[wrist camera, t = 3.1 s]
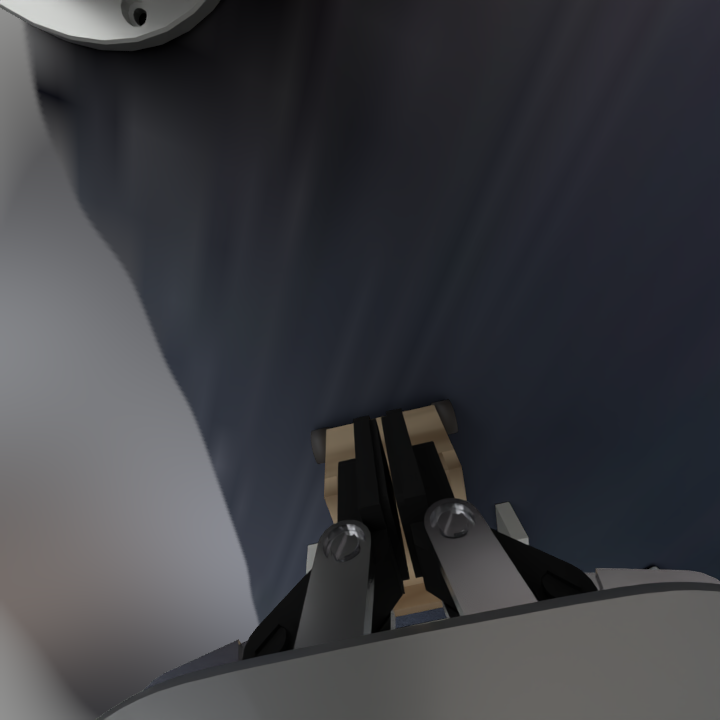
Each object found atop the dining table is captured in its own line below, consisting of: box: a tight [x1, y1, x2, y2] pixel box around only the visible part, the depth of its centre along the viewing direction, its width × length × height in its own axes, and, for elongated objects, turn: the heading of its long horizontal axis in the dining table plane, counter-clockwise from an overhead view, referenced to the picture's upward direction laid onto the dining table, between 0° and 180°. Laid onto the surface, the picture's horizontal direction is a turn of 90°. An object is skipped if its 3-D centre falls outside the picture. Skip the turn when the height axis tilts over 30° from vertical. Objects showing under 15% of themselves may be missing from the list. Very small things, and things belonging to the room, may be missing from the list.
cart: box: [311, 399, 467, 617], centre depth 22 cm, size 10×8×6 cm
